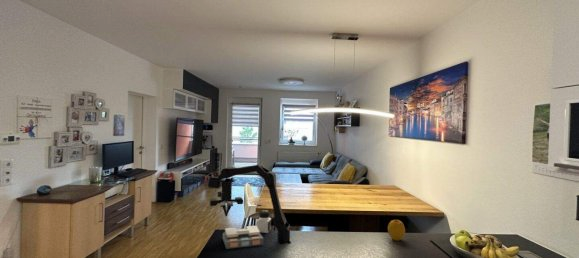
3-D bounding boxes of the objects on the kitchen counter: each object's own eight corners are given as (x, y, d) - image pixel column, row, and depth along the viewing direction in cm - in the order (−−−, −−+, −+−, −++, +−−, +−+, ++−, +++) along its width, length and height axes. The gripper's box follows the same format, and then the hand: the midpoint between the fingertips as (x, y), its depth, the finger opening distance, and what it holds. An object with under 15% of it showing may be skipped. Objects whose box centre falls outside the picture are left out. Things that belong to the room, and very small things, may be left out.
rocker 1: (235, 231, 174) (235, 227, 174) (238, 238, 166) (238, 233, 166) (225, 232, 172) (225, 228, 172) (227, 239, 164) (227, 234, 164)
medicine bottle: (267, 233, 184) (268, 213, 184) (256, 232, 186) (257, 212, 185) (271, 229, 191) (271, 210, 191) (260, 228, 193) (260, 209, 192)
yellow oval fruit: (390, 235, 186) (391, 216, 186) (406, 239, 181) (407, 219, 180) (385, 239, 178) (385, 220, 178) (402, 244, 173) (402, 223, 173)
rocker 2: (246, 233, 175) (246, 228, 176) (249, 234, 168) (249, 230, 168) (235, 234, 173) (235, 229, 174) (238, 236, 166) (238, 231, 166)
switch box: (257, 235, 180) (257, 229, 180) (263, 244, 166) (263, 238, 166) (222, 239, 173) (222, 232, 173) (226, 249, 160) (226, 242, 159)
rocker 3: (256, 229, 178) (256, 225, 178) (259, 235, 171) (259, 231, 170) (246, 230, 176) (246, 226, 176) (248, 237, 169) (249, 232, 168)
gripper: (240, 185, 187) (239, 211, 187) (208, 187, 180) (208, 213, 181) (243, 189, 176) (243, 216, 176) (210, 191, 170) (209, 219, 170)
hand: (226, 216), depth 176 cm, fingers closed
